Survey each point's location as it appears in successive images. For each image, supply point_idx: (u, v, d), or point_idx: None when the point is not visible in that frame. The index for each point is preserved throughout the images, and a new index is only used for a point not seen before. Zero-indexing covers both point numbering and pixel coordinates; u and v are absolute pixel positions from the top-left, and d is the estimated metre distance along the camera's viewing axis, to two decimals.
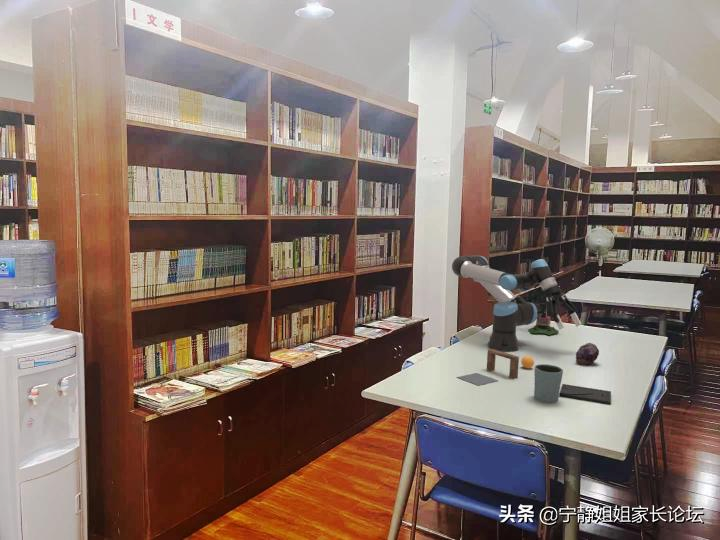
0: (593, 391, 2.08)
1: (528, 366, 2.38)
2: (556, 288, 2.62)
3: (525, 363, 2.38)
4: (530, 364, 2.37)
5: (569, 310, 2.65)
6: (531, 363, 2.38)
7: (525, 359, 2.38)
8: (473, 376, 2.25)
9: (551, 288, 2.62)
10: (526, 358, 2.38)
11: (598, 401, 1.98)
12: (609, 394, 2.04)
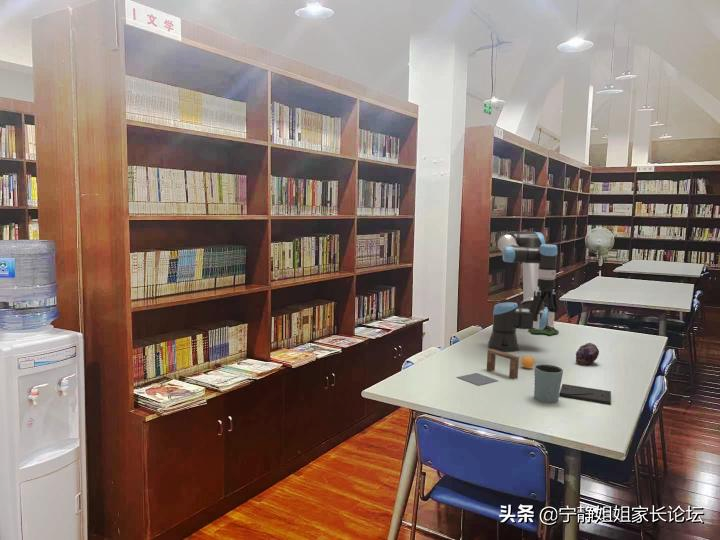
0: (593, 391, 2.08)
1: (528, 366, 2.38)
2: (551, 284, 2.38)
3: (525, 363, 2.38)
4: (530, 364, 2.37)
5: (550, 307, 2.46)
6: (531, 363, 2.38)
7: (525, 359, 2.38)
8: (473, 376, 2.25)
9: (546, 282, 2.38)
10: (526, 358, 2.38)
11: (598, 401, 1.98)
12: (609, 394, 2.04)
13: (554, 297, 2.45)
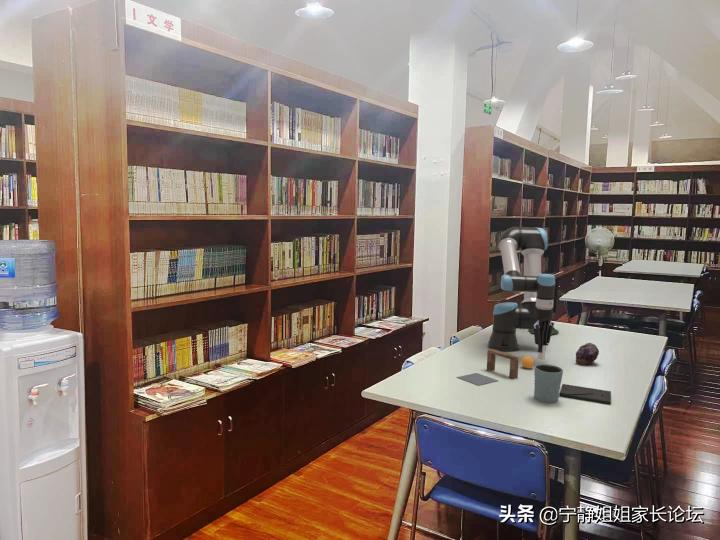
0: (593, 391, 2.08)
1: (528, 366, 2.38)
2: (549, 314, 2.39)
3: (525, 363, 2.38)
4: (530, 364, 2.37)
5: None
6: (531, 363, 2.38)
7: (525, 359, 2.38)
8: (473, 376, 2.25)
9: (544, 312, 2.39)
10: (526, 358, 2.38)
11: (598, 401, 1.98)
12: (609, 394, 2.04)
13: (549, 329, 2.45)
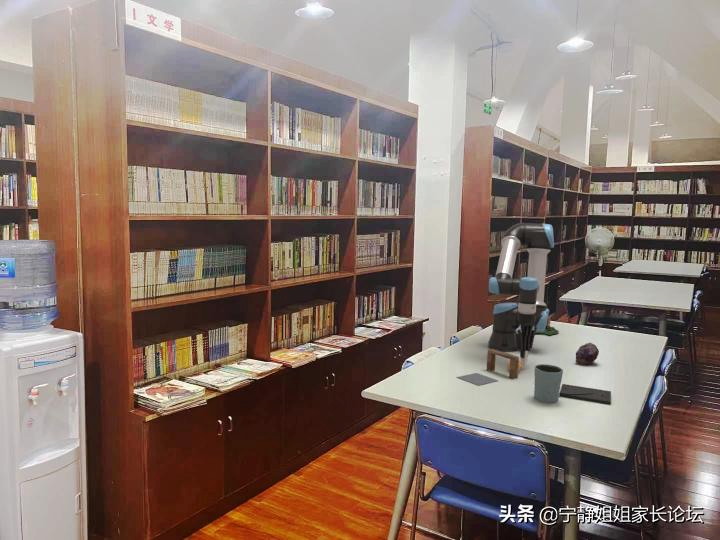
0: (593, 391, 2.08)
1: None
2: (531, 318, 2.33)
3: None
4: (520, 365, 2.33)
5: None
6: (520, 366, 2.33)
7: None
8: (473, 376, 2.25)
9: (526, 316, 2.32)
10: None
11: (598, 401, 1.98)
12: (609, 394, 2.04)
13: (532, 333, 2.39)
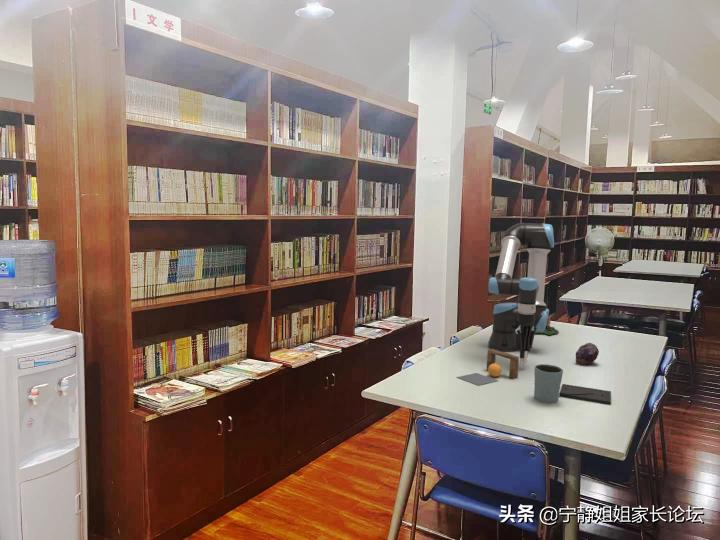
0: (593, 391, 2.08)
1: None
2: (531, 319, 2.33)
3: None
4: (499, 374, 2.25)
5: None
6: (499, 373, 2.24)
7: None
8: (473, 376, 2.25)
9: (526, 317, 2.32)
10: (492, 375, 2.25)
11: (598, 401, 1.98)
12: (609, 394, 2.04)
13: (532, 334, 2.39)
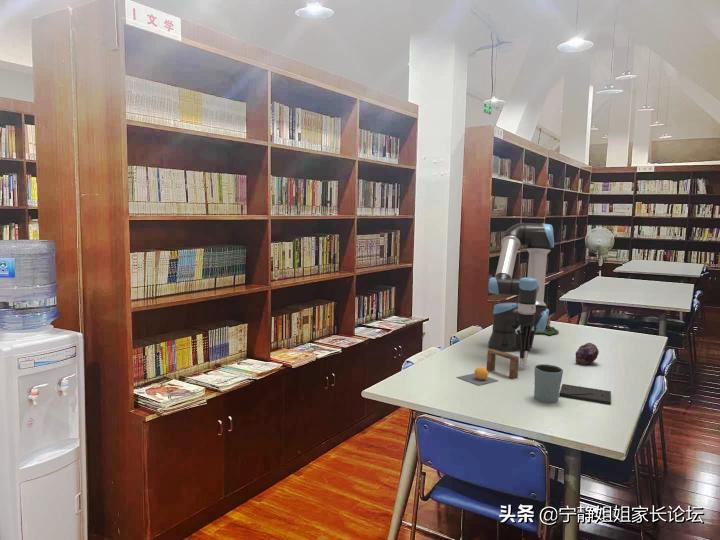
0: (593, 391, 2.08)
1: (482, 371, 2.19)
2: (531, 319, 2.33)
3: (482, 367, 2.20)
4: (485, 372, 2.19)
5: None
6: (486, 373, 2.19)
7: None
8: (473, 376, 2.25)
9: (526, 317, 2.32)
10: None
11: (598, 401, 1.98)
12: (609, 394, 2.04)
13: (532, 334, 2.39)
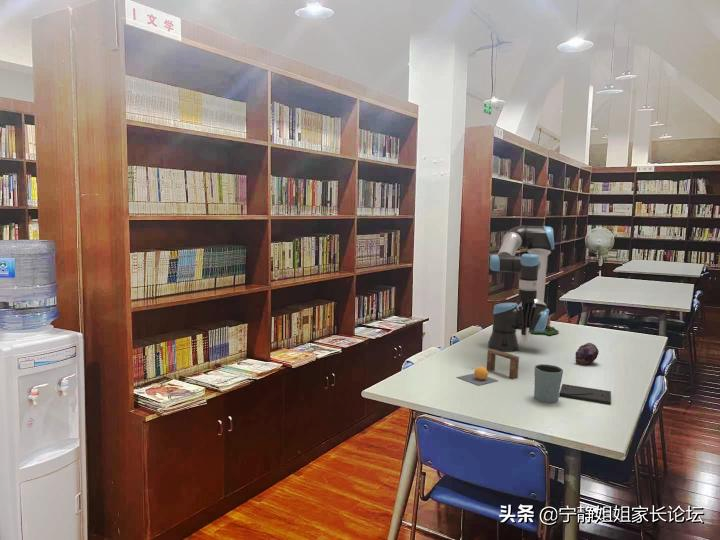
0: (593, 391, 2.08)
1: (482, 371, 2.19)
2: (532, 295, 2.31)
3: (482, 367, 2.20)
4: (485, 372, 2.19)
5: None
6: (486, 373, 2.19)
7: None
8: (473, 376, 2.25)
9: (527, 293, 2.31)
10: None
11: (598, 401, 1.98)
12: (609, 394, 2.04)
13: (533, 310, 2.38)
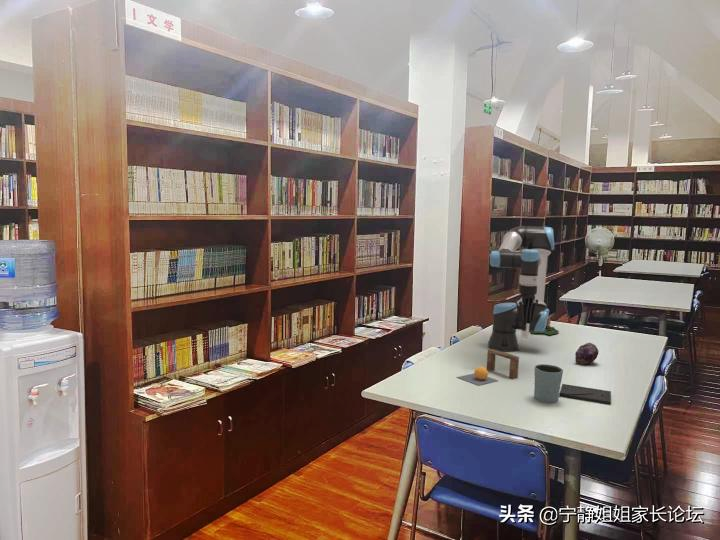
0: (593, 391, 2.08)
1: (482, 371, 2.19)
2: (533, 290, 2.31)
3: (482, 367, 2.20)
4: (485, 372, 2.19)
5: None
6: (486, 373, 2.19)
7: None
8: (473, 376, 2.25)
9: (528, 288, 2.31)
10: None
11: (598, 401, 1.98)
12: (609, 394, 2.04)
13: (533, 306, 2.37)
